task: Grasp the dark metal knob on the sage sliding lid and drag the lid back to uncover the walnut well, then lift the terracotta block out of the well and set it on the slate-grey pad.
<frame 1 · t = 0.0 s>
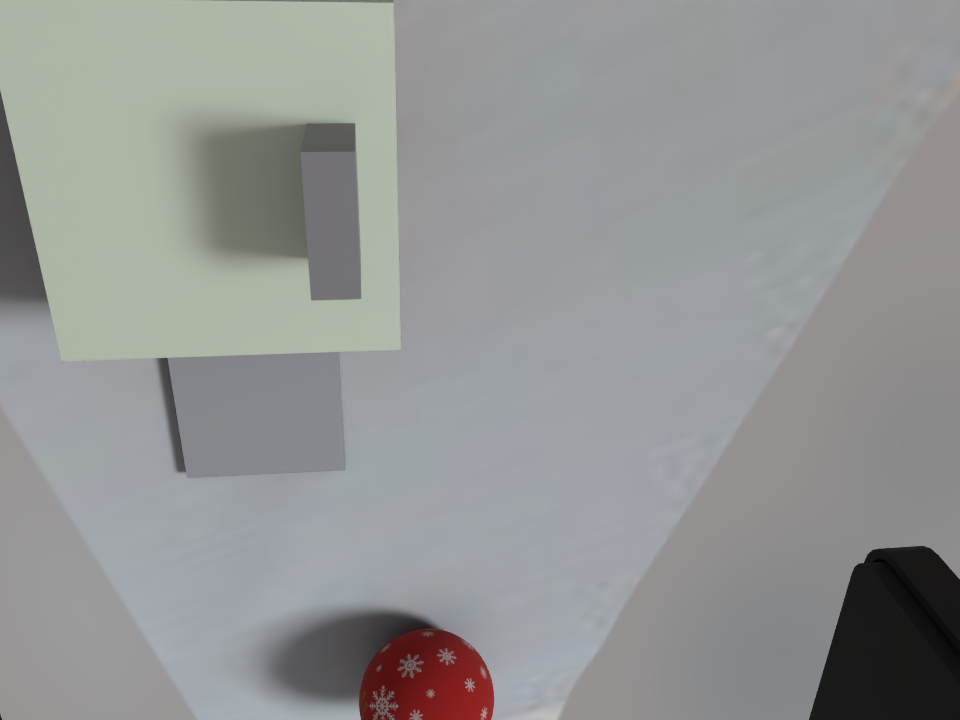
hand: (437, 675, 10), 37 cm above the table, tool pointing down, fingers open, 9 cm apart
pad: (260, 402, 49), on the table
lid: (209, 208, 36), point 8 cm above the table, slide at 0.0 cm
christmas ornament: (422, 645, 60), on the table
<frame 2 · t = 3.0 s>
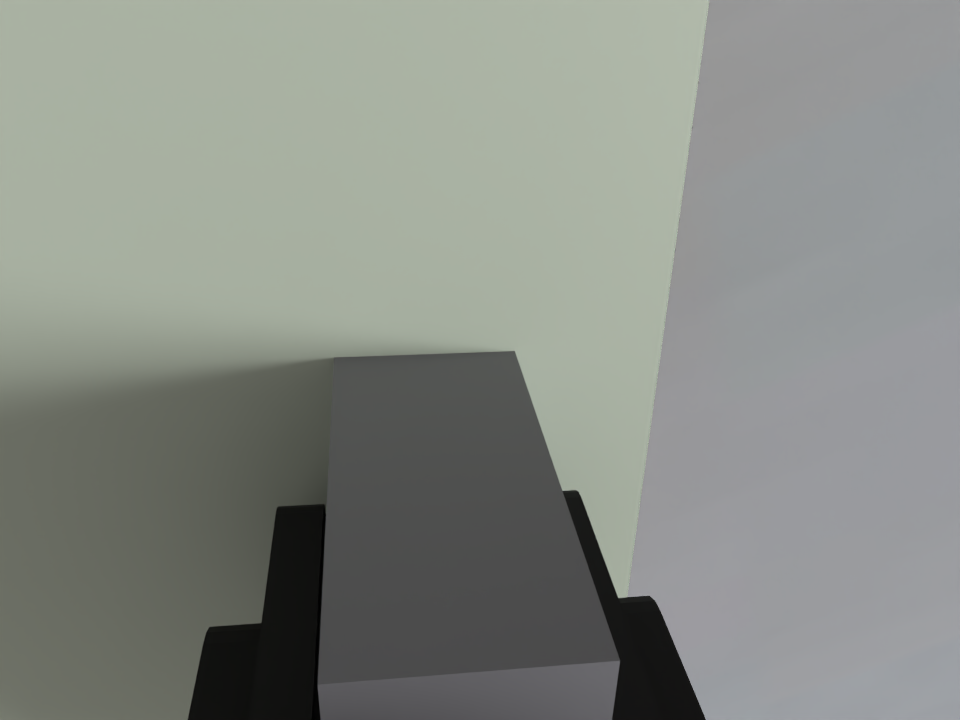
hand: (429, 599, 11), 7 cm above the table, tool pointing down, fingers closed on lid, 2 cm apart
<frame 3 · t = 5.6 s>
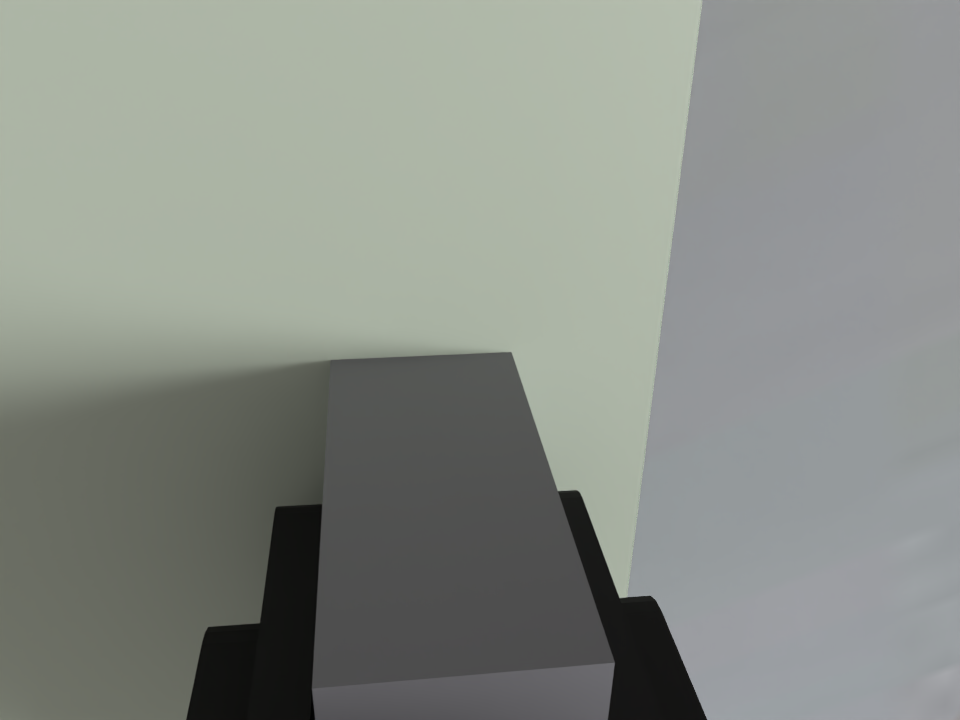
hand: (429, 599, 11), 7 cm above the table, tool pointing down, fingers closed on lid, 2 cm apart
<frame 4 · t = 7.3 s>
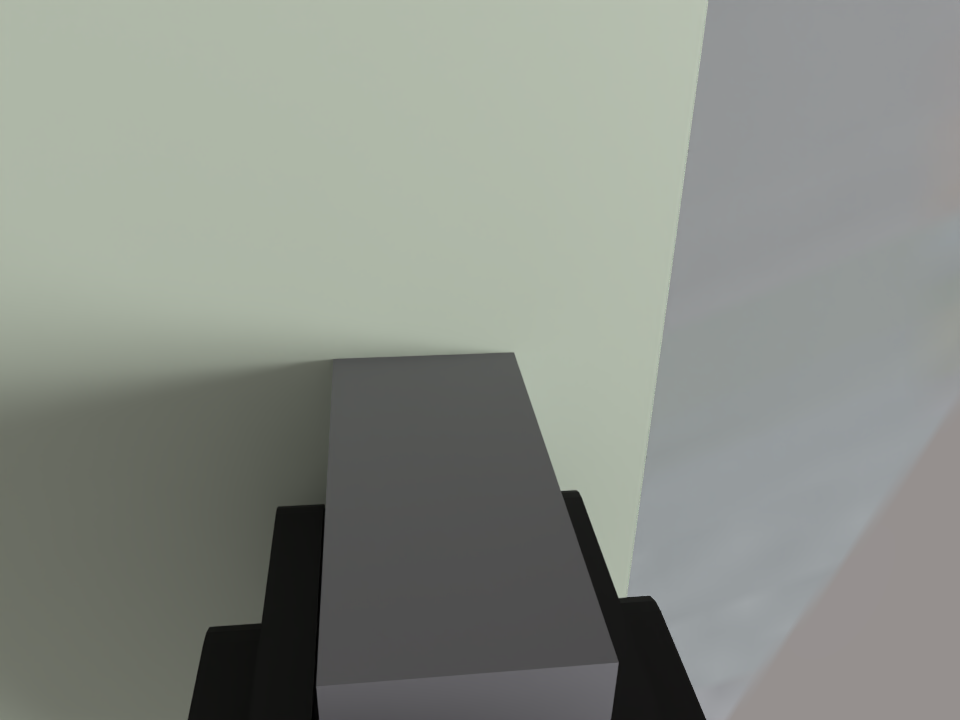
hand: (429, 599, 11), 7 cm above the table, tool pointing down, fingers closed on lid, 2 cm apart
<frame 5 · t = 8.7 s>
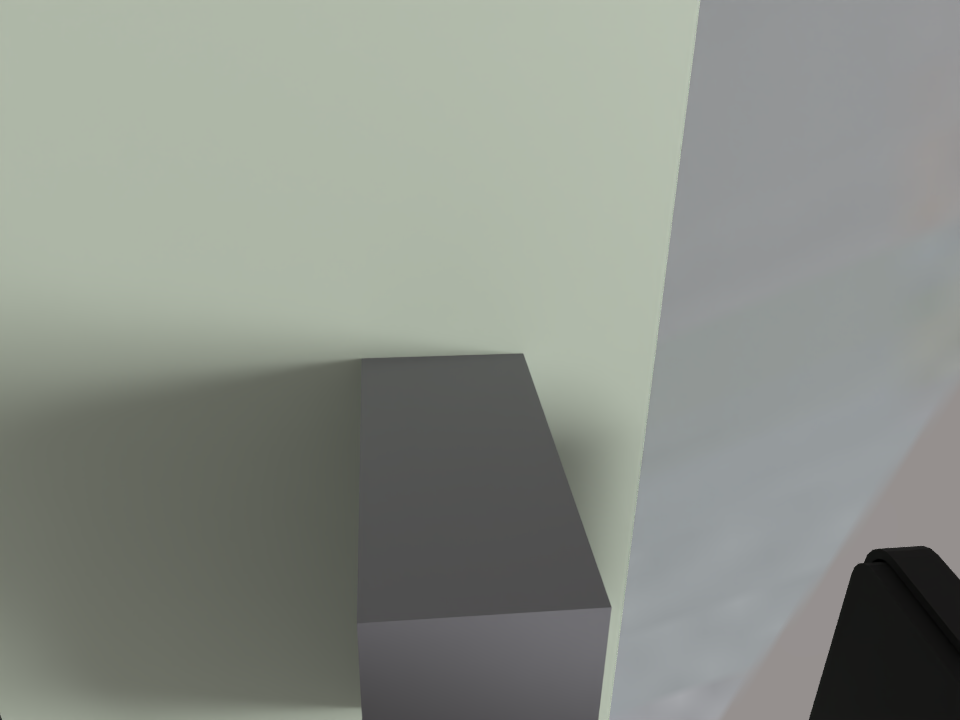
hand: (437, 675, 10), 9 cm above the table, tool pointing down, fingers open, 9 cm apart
lid: (19, 670, 10), point 8 cm above the table, slide at 18.0 cm
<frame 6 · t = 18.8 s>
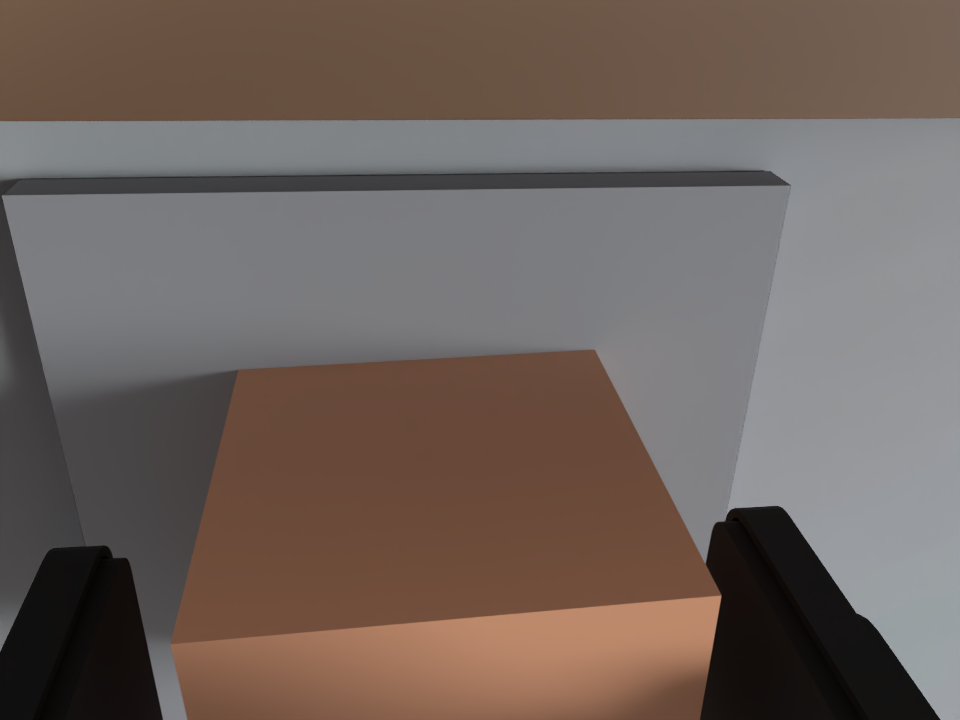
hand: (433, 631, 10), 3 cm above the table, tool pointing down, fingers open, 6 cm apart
pad: (417, 480, 13), on the table
block: (438, 621, 10), on the pad, point 3 cm above the table
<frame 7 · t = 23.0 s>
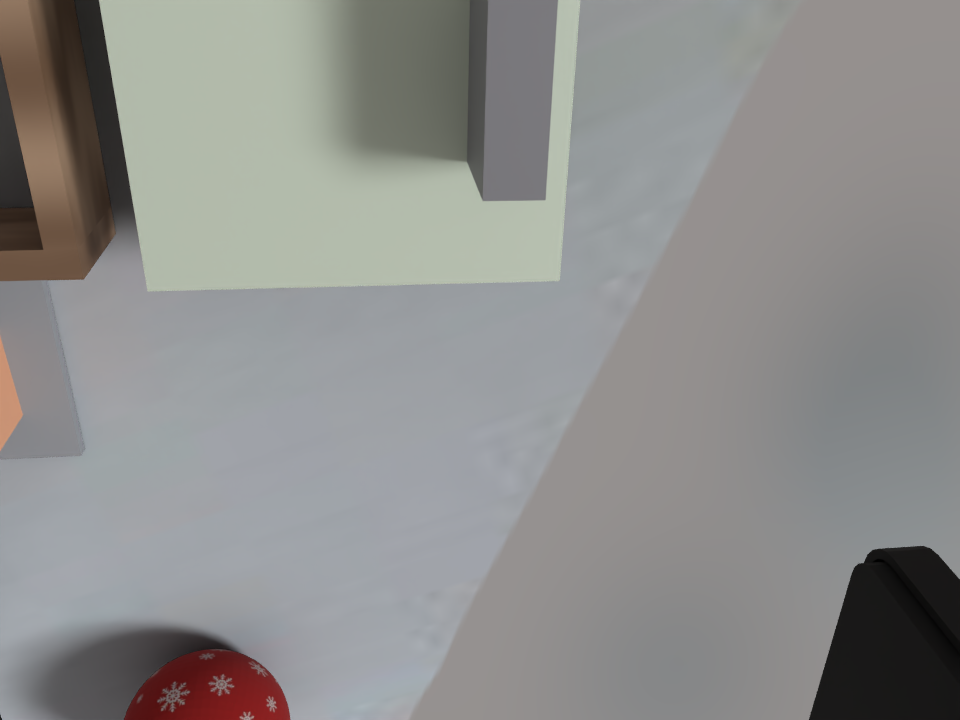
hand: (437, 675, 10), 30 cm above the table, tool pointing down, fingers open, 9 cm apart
lid: (349, 85, 28), point 8 cm above the table, slide at 18.0 cm
christmas ornament: (219, 668, 50), on the table
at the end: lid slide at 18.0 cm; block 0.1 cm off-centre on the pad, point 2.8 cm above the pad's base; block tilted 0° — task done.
